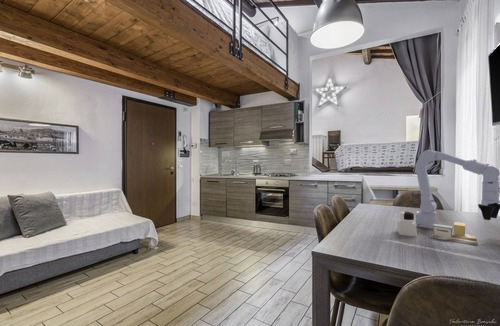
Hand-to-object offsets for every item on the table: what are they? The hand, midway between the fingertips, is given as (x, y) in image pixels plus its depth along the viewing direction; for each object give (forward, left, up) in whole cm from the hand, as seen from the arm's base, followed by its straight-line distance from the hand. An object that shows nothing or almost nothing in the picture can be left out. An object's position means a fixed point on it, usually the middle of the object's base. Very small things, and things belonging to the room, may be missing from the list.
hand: (490, 218), depth 113 cm
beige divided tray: (-13, -11, -10) cm, 20 cm away
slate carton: (-17, -16, -9) cm, 25 cm away
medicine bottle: (-31, -21, -10) cm, 39 cm away
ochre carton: (-11, -6, -9) cm, 15 cm away
